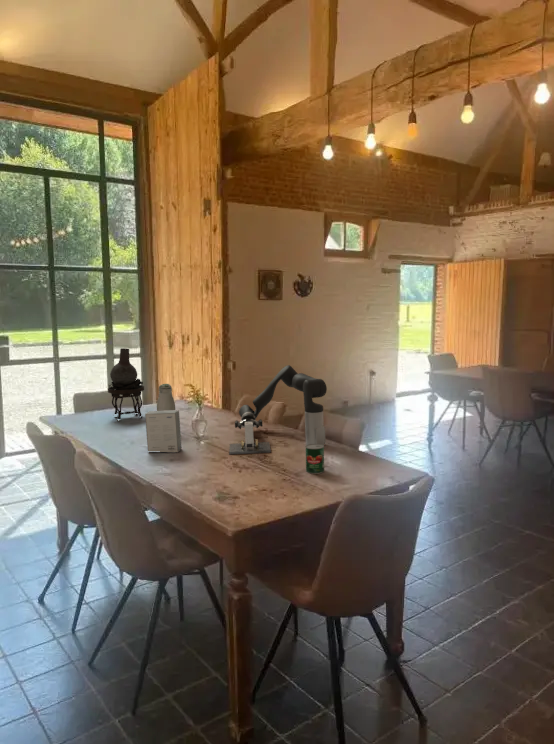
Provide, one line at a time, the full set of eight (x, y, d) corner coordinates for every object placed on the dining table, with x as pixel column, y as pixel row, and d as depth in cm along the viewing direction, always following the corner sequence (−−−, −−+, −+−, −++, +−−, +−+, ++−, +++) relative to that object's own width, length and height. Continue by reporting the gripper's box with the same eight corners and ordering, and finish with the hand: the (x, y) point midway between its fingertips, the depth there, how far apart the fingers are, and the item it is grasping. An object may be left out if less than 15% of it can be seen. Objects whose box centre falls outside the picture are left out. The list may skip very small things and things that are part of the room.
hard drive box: (182, 449, 289) (179, 410, 286) (178, 453, 281) (175, 413, 279) (152, 449, 290) (149, 410, 288) (147, 453, 283) (144, 413, 280)
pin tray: (229, 446, 291) (229, 438, 290) (269, 444, 292) (268, 436, 292) (229, 454, 275) (228, 446, 275) (270, 452, 276) (270, 444, 276)
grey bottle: (164, 435, 318) (161, 385, 315) (155, 432, 326) (152, 384, 322) (179, 432, 324) (177, 383, 321) (170, 429, 332) (168, 382, 329)
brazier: (111, 415, 379) (107, 347, 374) (146, 413, 383) (142, 346, 378) (108, 422, 358) (103, 350, 352) (145, 420, 361) (140, 349, 356)
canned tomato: (309, 474, 240) (308, 449, 239) (303, 469, 248) (302, 444, 246) (327, 472, 242) (326, 447, 241) (320, 467, 250) (320, 442, 248)
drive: (245, 445, 286) (244, 421, 285) (253, 445, 287) (252, 421, 285) (245, 448, 280) (244, 424, 278) (253, 448, 280) (252, 424, 279)
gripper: (234, 413, 306) (234, 420, 290) (261, 412, 307) (262, 418, 291) (235, 427, 307) (235, 434, 291) (261, 426, 308) (263, 433, 292)
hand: (248, 426), depth 291 cm, fingers open, 8 cm apart
